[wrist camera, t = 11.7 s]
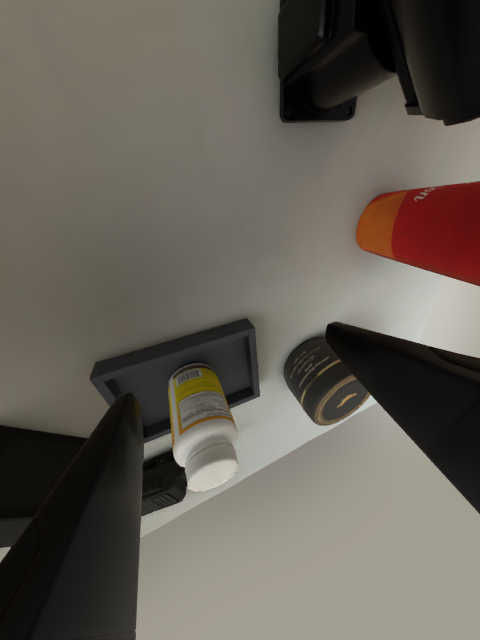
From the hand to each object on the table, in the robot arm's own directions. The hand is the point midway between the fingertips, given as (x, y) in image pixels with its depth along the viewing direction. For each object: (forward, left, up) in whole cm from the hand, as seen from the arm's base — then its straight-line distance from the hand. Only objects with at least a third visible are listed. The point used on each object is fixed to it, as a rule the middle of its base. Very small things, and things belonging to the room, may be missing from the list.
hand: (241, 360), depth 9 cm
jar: (-14, +17, -12) cm, 25 cm away
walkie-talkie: (+11, +26, -12) cm, 31 cm away
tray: (+3, +12, -12) cm, 17 cm away
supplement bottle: (+3, +11, -11) cm, 16 cm away
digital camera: (+20, +15, -12) cm, 28 cm away
